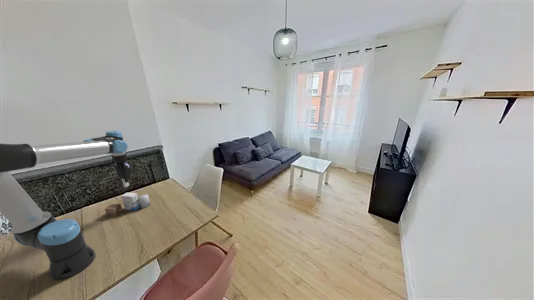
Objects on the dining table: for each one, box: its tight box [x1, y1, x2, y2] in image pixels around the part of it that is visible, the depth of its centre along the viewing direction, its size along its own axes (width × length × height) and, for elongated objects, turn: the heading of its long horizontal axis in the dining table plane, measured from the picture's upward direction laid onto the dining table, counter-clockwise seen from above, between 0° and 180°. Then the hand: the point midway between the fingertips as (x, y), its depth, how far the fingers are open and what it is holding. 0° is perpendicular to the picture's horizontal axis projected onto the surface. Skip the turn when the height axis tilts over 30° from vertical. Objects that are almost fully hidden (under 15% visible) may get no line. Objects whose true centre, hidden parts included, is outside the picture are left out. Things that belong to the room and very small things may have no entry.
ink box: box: [120, 192, 141, 211], centre depth 123 cm, size 9×5×12 cm, turn 84°
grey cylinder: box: [138, 193, 151, 209], centre depth 127 cm, size 6×6×8 cm
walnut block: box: [104, 203, 123, 218], centre depth 118 cm, size 6×6×6 cm
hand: (126, 186), depth 119 cm, fingers closed
